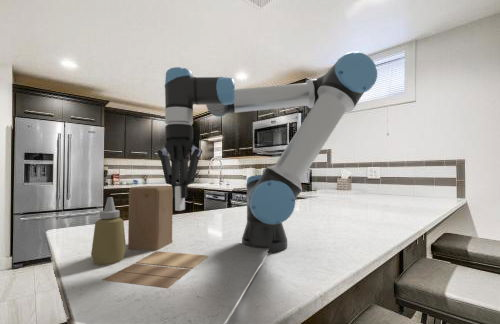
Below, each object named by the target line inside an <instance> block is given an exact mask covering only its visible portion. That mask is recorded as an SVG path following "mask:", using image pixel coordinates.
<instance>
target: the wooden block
mask: <svg viewBox="0 0 500 324" xmlns="http://www.w3.org/2000/svg"><path fill="white" fill-rule="evenodd" d="M173 199H174V198H173V189H172V185H144V186H143V185H142V186H132V187H130V188H129V190H128V225H127V226H128V231H127V232H128V234H127V236H128V239H127V242H128V243H127V244H128V245H127V248H128V250H139V251H151V252H152V251H153V252H156V251H159V250H161V249H163V248H165V247H167V246H169V245H170V244H172V243H173Z"/></svg>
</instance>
